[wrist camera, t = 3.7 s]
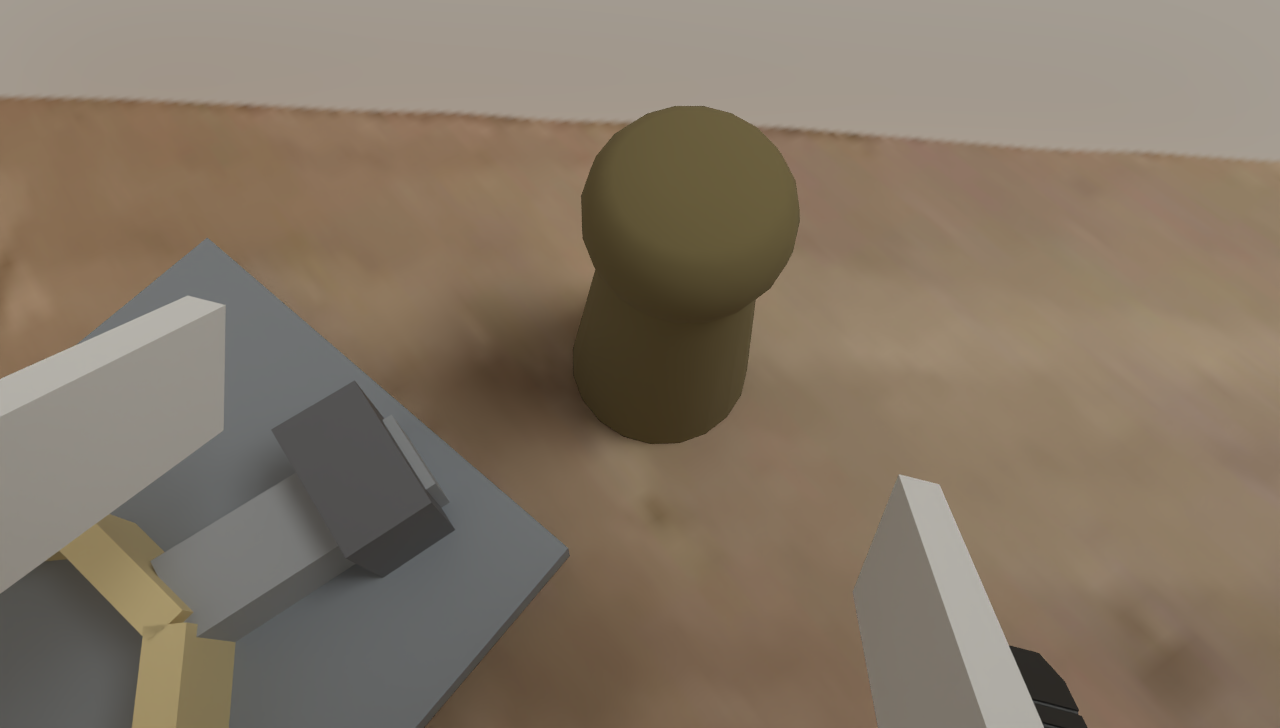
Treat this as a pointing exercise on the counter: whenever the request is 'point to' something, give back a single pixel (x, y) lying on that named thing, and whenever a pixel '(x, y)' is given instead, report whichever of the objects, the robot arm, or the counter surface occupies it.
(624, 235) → the cork
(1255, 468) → the counter surface
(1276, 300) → the counter surface
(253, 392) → the stand
